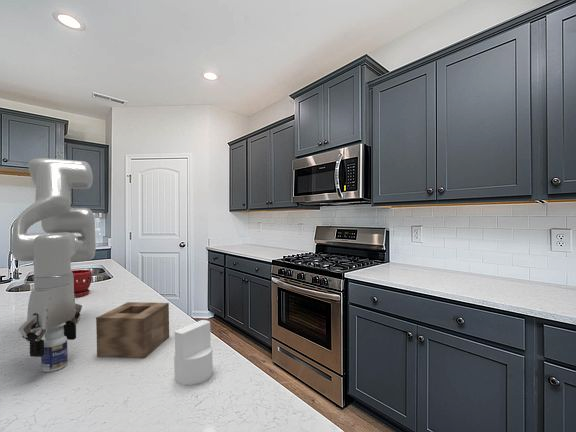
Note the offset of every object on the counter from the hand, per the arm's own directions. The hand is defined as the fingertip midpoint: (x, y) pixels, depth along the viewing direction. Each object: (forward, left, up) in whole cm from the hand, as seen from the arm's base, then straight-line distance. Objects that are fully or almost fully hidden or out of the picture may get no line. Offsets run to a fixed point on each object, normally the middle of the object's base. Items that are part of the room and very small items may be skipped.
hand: (54, 347), depth 76 cm
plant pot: (-49, +64, -6) cm, 81 cm away
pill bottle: (0, 0, -6) cm, 6 cm away
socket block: (+14, +13, -5) cm, 20 cm away
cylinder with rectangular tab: (+38, -1, -6) cm, 38 cm away
